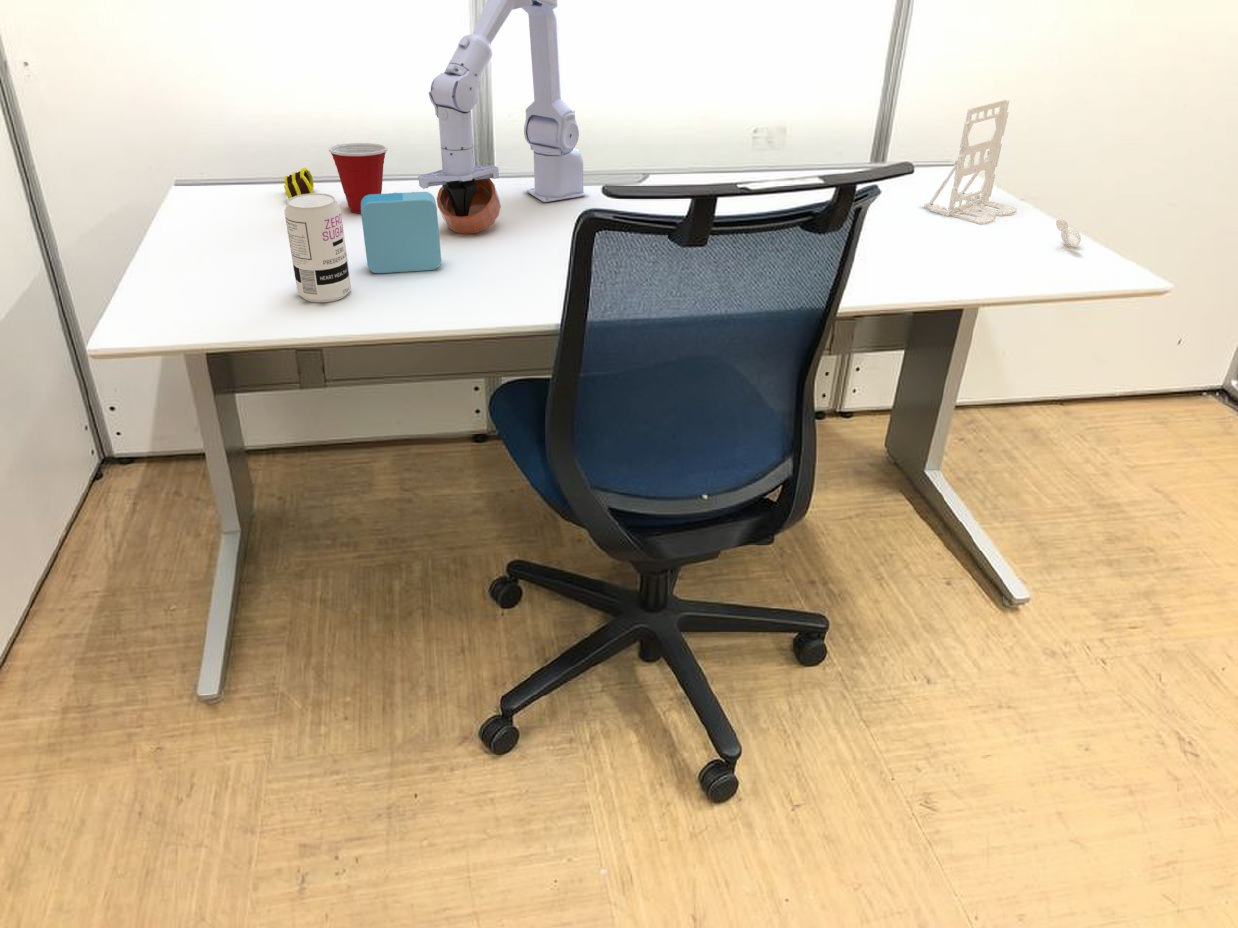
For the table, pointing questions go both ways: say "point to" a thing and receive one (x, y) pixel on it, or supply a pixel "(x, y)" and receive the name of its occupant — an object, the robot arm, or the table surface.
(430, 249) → the light blue rounded block
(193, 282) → the table surface
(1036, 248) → the table surface
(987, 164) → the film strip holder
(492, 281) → the table surface
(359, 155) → the plastic cup
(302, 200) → the supplement can
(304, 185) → the opera glasses
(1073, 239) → the rabbit figurine
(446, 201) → the bowl
